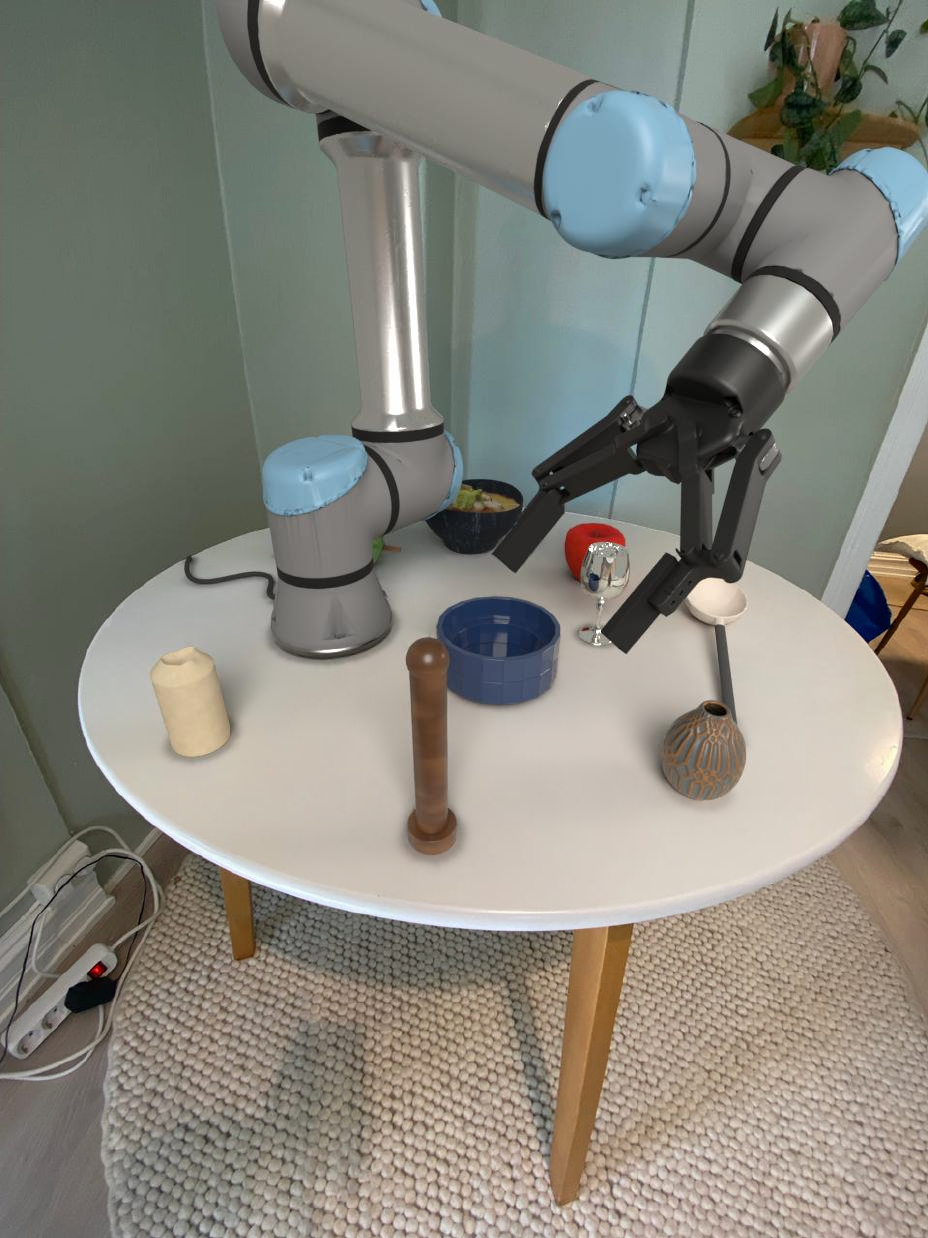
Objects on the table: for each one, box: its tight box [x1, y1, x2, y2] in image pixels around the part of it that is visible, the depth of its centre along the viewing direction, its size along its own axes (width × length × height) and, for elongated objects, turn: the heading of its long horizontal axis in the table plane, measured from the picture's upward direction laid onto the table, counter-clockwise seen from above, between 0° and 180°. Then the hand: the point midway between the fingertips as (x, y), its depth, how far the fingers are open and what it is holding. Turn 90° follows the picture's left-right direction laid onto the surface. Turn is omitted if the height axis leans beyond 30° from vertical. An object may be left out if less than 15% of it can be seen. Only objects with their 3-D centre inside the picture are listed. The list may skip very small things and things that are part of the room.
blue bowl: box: [435, 595, 562, 706], centre depth 68 cm, size 14×14×6 cm
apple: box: [563, 522, 626, 582], centre depth 89 cm, size 9×9×8 cm
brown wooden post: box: [405, 636, 458, 856], centre depth 45 cm, size 4×4×19 cm
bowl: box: [424, 478, 524, 555], centre depth 99 cm, size 17×17×10 cm
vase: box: [660, 699, 747, 801], centre depth 53 cm, size 7×7×9 cm
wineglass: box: [578, 542, 631, 646], centre depth 74 cm, size 6×6×12 cm
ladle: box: [685, 578, 749, 726], centre depth 72 cm, size 8×31×4 cm, turn 165°
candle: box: [149, 646, 231, 758], centre depth 57 cm, size 6×6×10 cm
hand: (551, 599), depth 44 cm, fingers open, 13 cm apart
